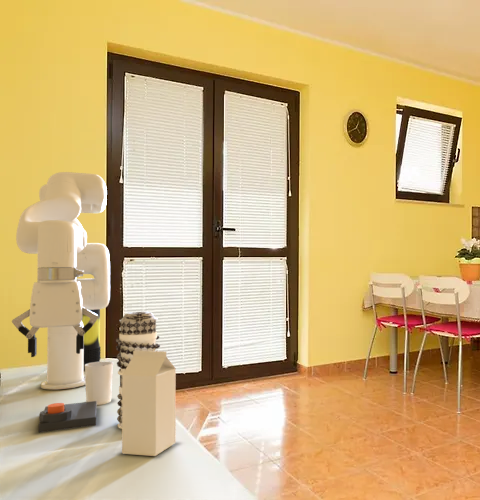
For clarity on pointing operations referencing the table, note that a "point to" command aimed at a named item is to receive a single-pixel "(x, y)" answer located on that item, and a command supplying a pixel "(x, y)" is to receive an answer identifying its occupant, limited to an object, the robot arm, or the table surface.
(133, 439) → the milk carton
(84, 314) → the robot arm
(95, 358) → the container
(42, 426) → the scale
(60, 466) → the table surface
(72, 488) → the table surface
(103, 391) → the white cup
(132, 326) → the decorative candle
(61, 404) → the tare button
